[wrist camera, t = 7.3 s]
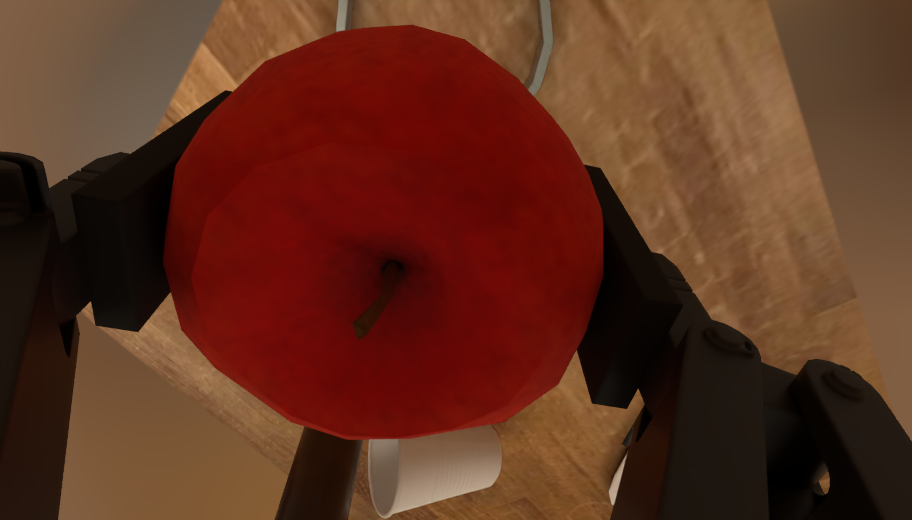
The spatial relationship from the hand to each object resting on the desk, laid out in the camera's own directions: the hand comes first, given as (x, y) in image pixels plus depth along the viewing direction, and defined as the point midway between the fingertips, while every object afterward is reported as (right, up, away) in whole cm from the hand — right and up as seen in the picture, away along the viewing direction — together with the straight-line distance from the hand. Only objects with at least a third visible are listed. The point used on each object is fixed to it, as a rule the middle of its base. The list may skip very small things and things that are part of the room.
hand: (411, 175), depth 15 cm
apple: (0, +2, +3) cm, 4 cm away
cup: (+5, -22, +38) cm, 44 cm away
